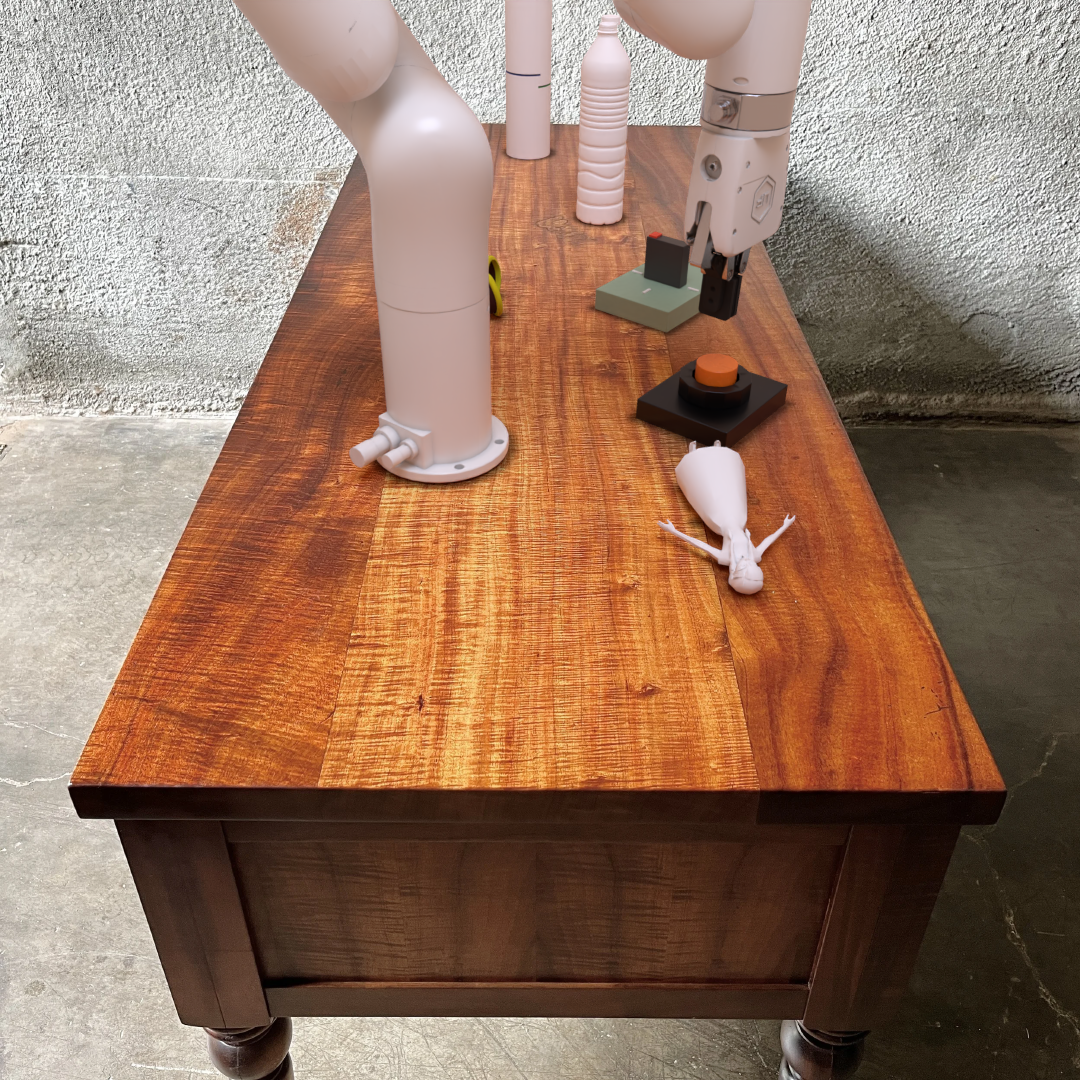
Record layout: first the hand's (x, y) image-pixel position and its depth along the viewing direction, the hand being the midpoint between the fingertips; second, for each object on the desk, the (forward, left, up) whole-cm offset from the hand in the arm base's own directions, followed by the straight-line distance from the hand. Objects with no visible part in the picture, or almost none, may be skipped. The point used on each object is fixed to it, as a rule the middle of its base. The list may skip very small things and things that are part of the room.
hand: (717, 313), depth 97 cm
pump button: (0, -1, -7) cm, 7 cm away
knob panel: (+19, +17, -10) cm, 28 cm away
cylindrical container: (+54, +66, -11) cm, 87 cm away
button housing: (0, -1, -10) cm, 10 cm away
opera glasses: (+4, +33, -11) cm, 35 cm away
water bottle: (+38, +40, -11) cm, 57 cm away
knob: (+19, +17, -8) cm, 27 cm away
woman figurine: (-16, -12, -11) cm, 23 cm away
